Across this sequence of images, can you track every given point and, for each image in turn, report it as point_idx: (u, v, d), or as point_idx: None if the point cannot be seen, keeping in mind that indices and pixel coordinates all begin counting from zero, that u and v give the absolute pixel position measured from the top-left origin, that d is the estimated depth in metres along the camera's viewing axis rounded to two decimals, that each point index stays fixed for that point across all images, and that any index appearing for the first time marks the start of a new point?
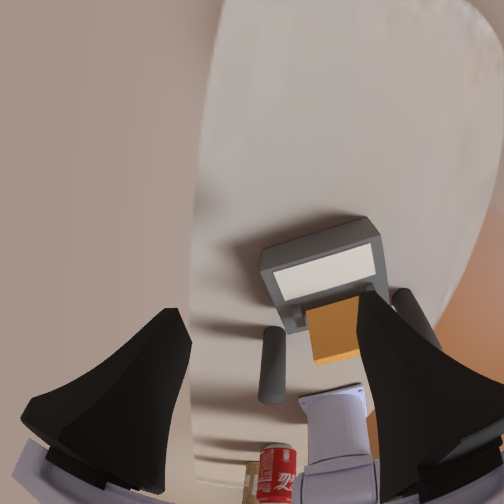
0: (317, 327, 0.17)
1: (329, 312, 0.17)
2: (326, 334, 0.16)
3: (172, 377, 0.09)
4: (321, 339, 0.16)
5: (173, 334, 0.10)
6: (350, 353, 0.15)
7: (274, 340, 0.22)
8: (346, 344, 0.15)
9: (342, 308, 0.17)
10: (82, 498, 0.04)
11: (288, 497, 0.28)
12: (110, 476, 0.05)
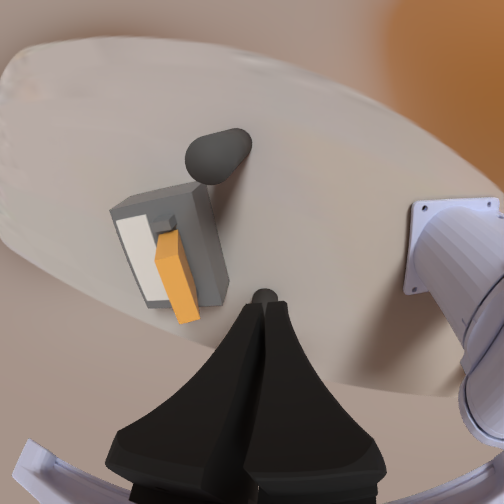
0: None
1: None
2: None
3: (261, 379, 0.09)
4: None
5: (261, 331, 0.09)
6: (175, 288, 0.13)
7: None
8: None
9: None
10: (82, 498, 0.04)
11: None
12: None
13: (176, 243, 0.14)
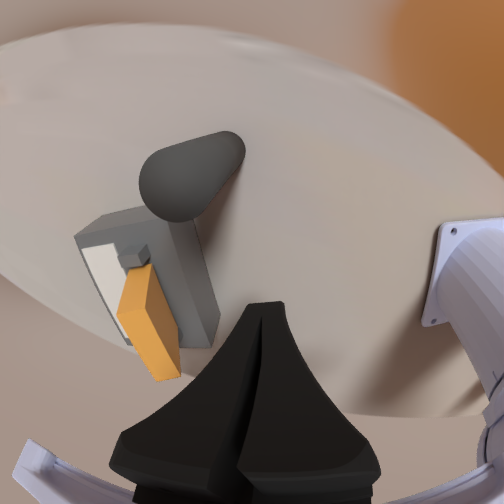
0: None
1: None
2: None
3: None
4: None
5: None
6: (145, 345, 0.10)
7: None
8: None
9: None
10: (82, 498, 0.04)
11: None
12: None
13: (146, 288, 0.10)
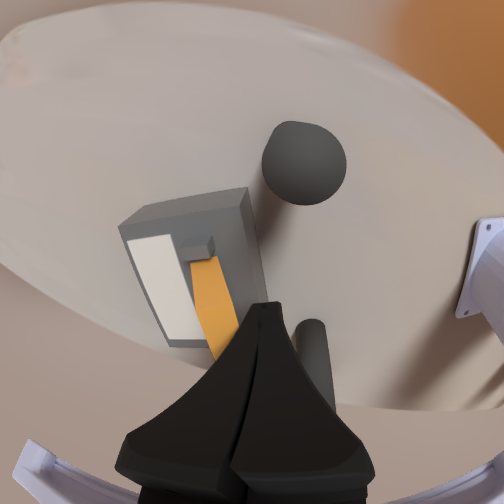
0: None
1: None
2: None
3: None
4: None
5: None
6: (224, 346, 0.09)
7: (297, 346, 0.16)
8: None
9: None
10: (82, 498, 0.04)
11: None
12: None
13: (224, 282, 0.10)
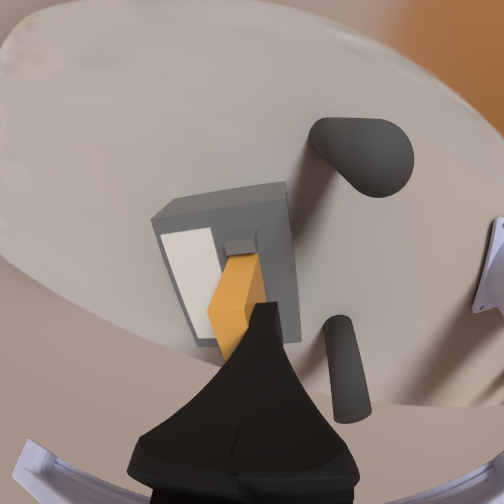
0: None
1: None
2: None
3: None
4: None
5: (278, 330, 0.09)
6: (233, 348, 0.09)
7: (327, 342, 0.16)
8: None
9: None
10: (82, 498, 0.04)
11: None
12: None
13: (248, 284, 0.09)
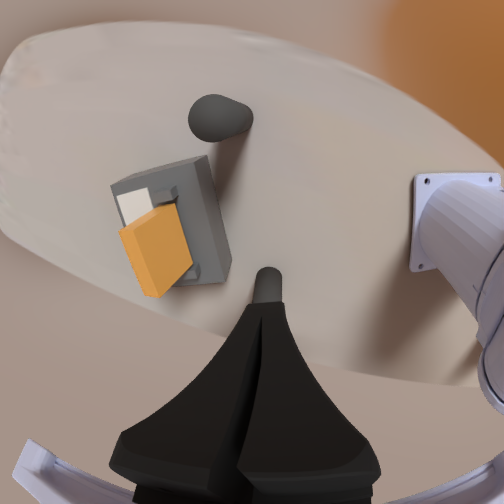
0: None
1: None
2: None
3: None
4: None
5: None
6: (135, 261, 0.13)
7: None
8: None
9: None
10: (82, 498, 0.04)
11: None
12: None
13: (149, 218, 0.13)
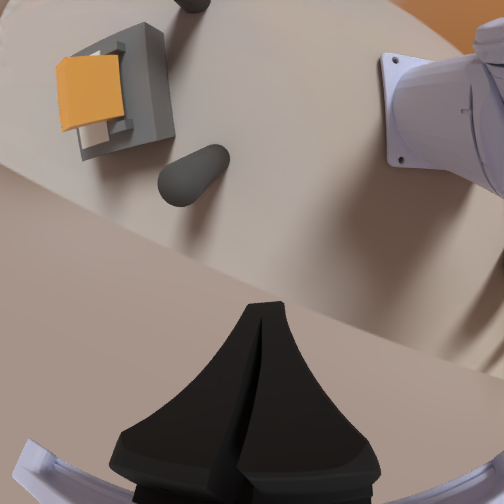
0: None
1: None
2: None
3: None
4: None
5: None
6: (60, 90, 0.09)
7: None
8: None
9: None
10: (82, 498, 0.04)
11: None
12: None
13: (85, 56, 0.09)
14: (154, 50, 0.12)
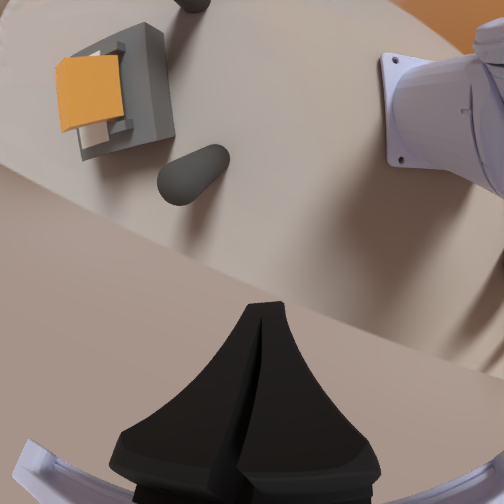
0: None
1: None
2: None
3: None
4: None
5: None
6: (60, 91, 0.09)
7: None
8: None
9: None
10: (82, 498, 0.04)
11: None
12: None
13: (85, 56, 0.09)
14: (154, 50, 0.12)
